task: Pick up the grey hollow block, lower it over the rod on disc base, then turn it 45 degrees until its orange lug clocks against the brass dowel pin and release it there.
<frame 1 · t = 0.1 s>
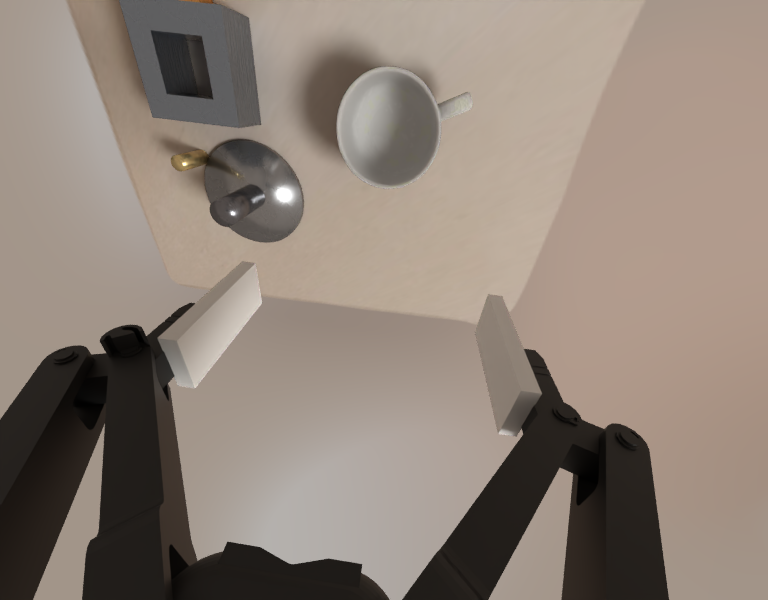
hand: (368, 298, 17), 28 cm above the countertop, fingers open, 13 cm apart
grey hollow block: (213, 70, 36), on the countertop
rod on disc base: (255, 194, 43), on the countertop
dowel pin: (202, 157, 41), on the countertop
teacup: (406, 125, 37), on the countertop
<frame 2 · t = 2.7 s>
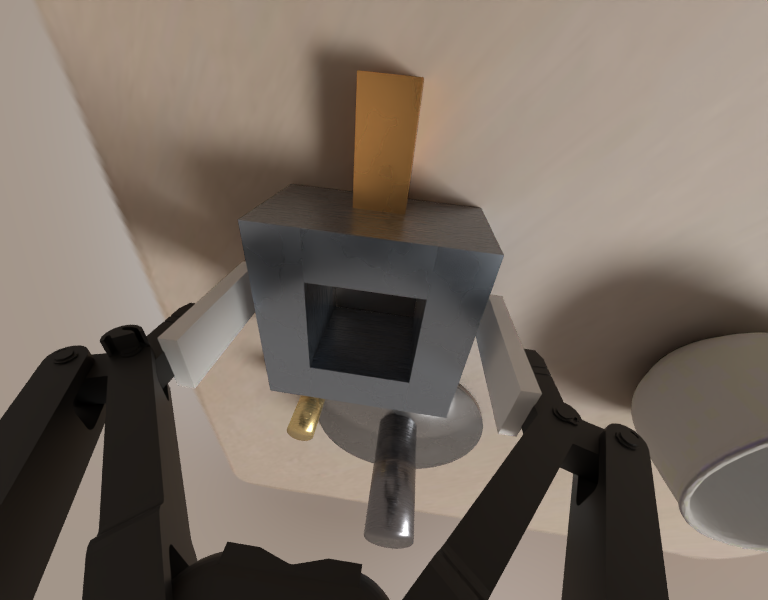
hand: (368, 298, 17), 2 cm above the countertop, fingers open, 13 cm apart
grey hollow block: (377, 278, 19), on the countertop
rod on disc base: (398, 420, 26), on the countertop
dowel pin: (321, 375, 24), on the countertop
teacup: (727, 367, 20), on the countertop
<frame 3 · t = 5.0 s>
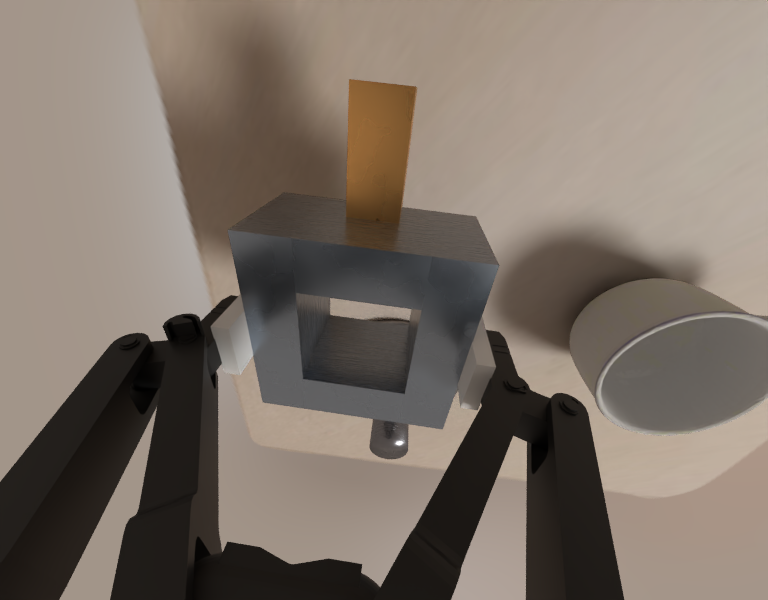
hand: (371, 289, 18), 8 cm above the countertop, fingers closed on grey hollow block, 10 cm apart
grey hollow block: (372, 286, 18), point 7 cm above the countertop, touching gripper
rod on disc base: (394, 372, 32), on the countertop
teacup: (638, 313, 26), on the countertop
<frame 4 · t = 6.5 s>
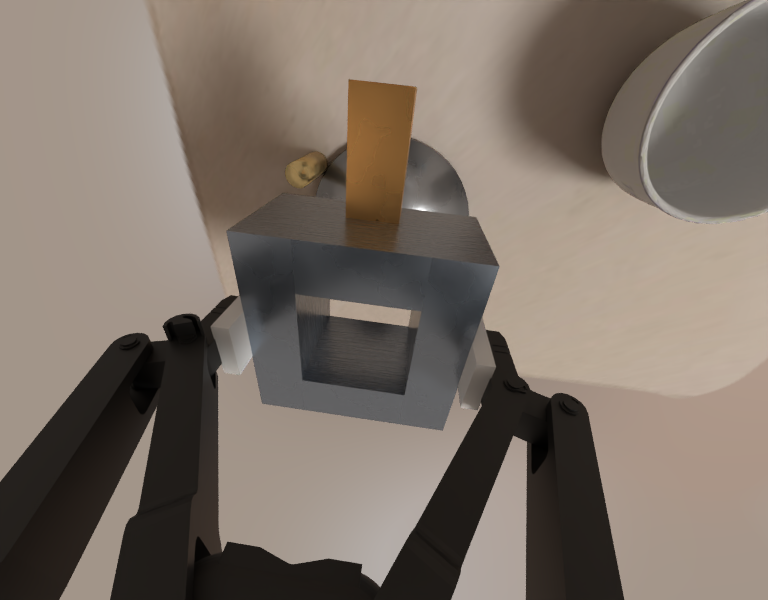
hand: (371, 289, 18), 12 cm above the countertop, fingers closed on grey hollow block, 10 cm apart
grey hollow block: (371, 287, 18), point 12 cm above the countertop, touching gripper
rod on disc base: (390, 220, 28), on the countertop
dowel pin: (317, 163, 26), on the countertop
teacup: (688, 108, 21), on the countertop
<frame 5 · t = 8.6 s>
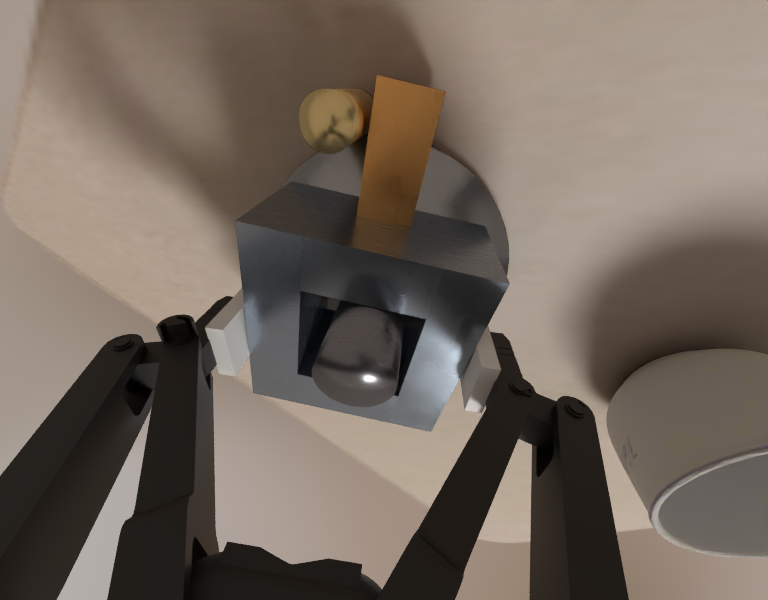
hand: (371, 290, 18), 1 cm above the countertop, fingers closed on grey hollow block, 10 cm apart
grey hollow block: (372, 284, 18), point 1 cm above the countertop, touching gripper
rod on disc base: (383, 267, 18), on the countertop
dowel pin: (357, 112, 14), on the countertop
teacup: (688, 390, 21), on the countertop
when the fingers open (1 cm above the countertop, at t = 9.8 s): grey hollow block stays where it is, resting on rod on disc base.
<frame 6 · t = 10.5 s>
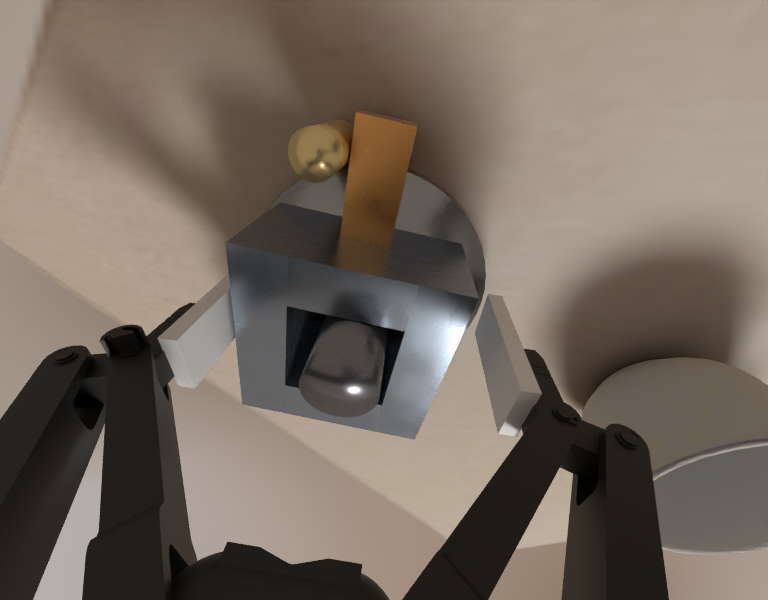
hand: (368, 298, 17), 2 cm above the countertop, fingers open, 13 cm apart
grey hollow block: (358, 298, 19), point 1 cm above the countertop, touching rod on disc base
rod on disc base: (368, 282, 19), on the countertop
dowel pin: (342, 140, 15), on the countertop
teacup: (655, 396, 22), on the countertop
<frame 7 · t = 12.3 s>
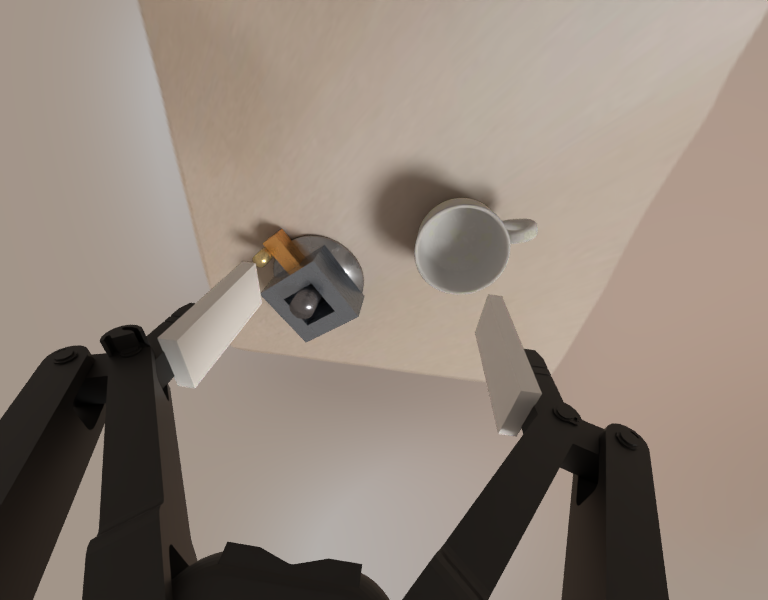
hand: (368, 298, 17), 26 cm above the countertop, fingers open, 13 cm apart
grey hollow block: (320, 285, 47), point 1 cm above the countertop, touching rod on disc base
rod on disc base: (319, 278, 47), on the countertop
dowel pin: (274, 247, 45), on the countertop
teacup: (466, 228, 41), on the countertop
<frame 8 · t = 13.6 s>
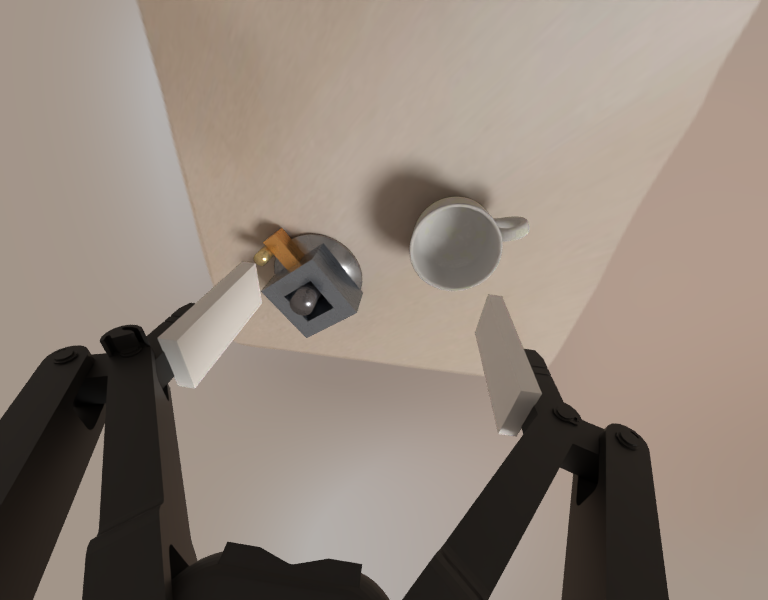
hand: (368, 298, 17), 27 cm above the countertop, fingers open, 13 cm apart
grey hollow block: (319, 283, 48), point 1 cm above the countertop, touching rod on disc base
rod on disc base: (318, 275, 48), on the countertop
dowel pin: (274, 245, 46), on the countertop
teacup: (461, 226, 42), on the countertop
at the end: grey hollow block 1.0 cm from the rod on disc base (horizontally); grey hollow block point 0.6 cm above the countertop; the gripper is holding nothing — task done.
